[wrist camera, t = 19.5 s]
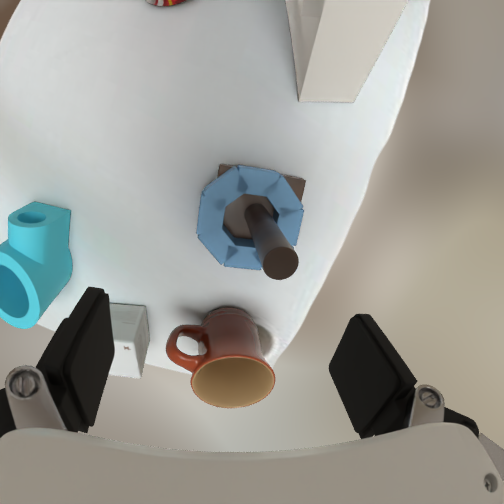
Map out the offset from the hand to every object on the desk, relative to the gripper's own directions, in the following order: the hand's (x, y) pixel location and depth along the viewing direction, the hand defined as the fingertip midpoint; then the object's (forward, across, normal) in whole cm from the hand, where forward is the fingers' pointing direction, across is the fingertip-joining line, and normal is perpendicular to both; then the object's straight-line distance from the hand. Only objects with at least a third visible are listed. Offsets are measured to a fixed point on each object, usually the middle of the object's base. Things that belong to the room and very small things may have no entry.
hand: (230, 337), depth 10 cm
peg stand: (+22, -4, +1) cm, 22 cm away
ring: (+20, -3, +1) cm, 20 cm away
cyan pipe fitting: (+22, +22, +9) cm, 32 cm away
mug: (+22, -2, +16) cm, 27 cm away
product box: (+22, +10, +18) cm, 30 cm away
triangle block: (+16, -3, -23) cm, 28 cm away
